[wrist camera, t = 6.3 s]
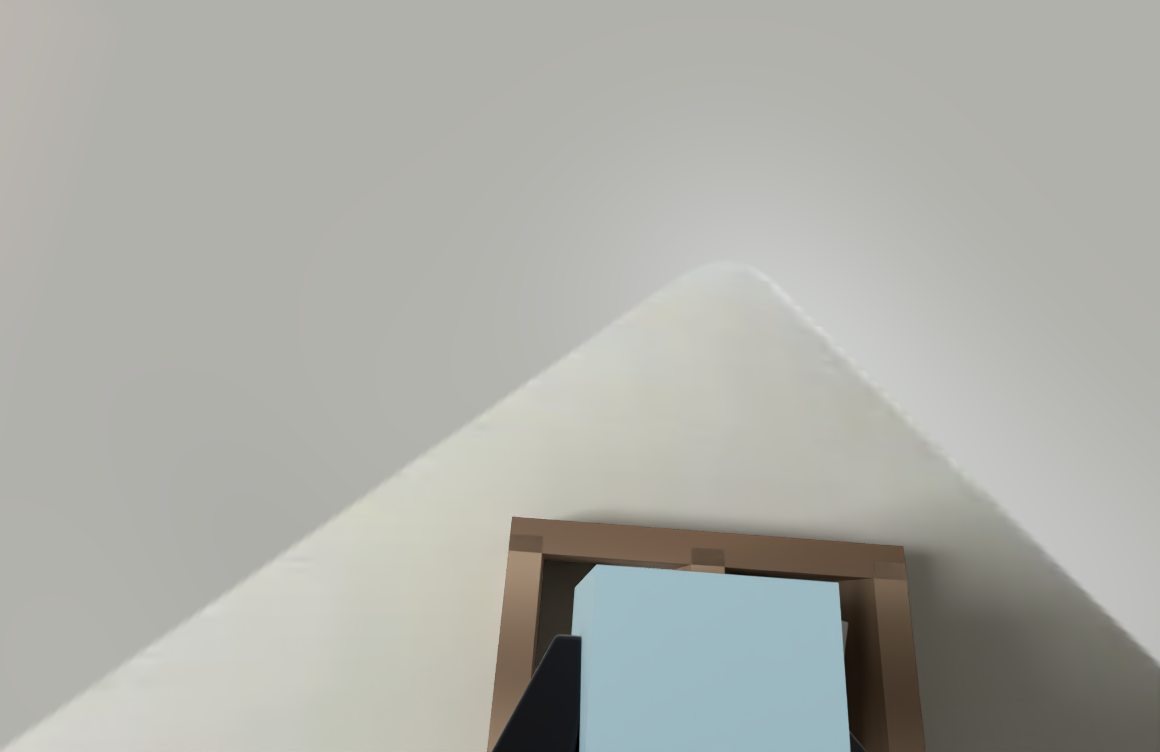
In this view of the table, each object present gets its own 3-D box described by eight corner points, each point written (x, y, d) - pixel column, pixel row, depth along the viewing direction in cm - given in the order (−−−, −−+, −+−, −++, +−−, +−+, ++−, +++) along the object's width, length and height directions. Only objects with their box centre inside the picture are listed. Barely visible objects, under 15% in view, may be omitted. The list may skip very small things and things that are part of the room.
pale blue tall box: (668, 828, 14) (888, 1284, 5) (558, 820, 14) (555, 1260, 5) (672, 595, 16) (838, 582, 6) (574, 587, 16) (597, 564, 6)
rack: (882, 843, 19) (939, 885, 16) (488, 814, 19) (476, 851, 16) (858, 554, 22) (903, 546, 19) (518, 528, 22) (512, 516, 19)
